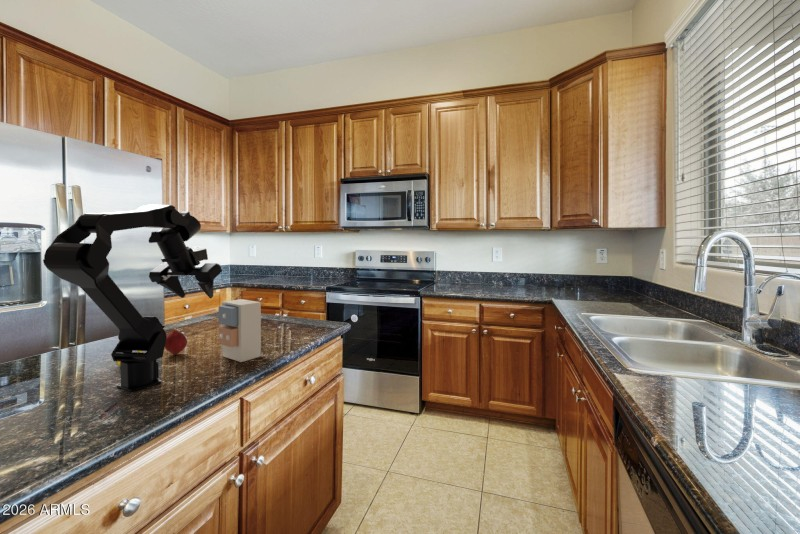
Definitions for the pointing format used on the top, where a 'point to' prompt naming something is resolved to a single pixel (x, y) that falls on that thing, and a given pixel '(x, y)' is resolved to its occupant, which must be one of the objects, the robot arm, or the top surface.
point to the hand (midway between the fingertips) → (197, 297)
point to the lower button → (228, 336)
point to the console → (245, 331)
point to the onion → (175, 342)
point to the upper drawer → (228, 315)
